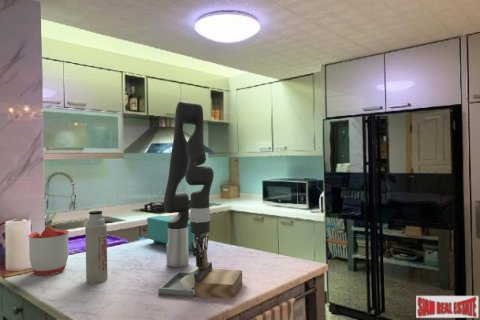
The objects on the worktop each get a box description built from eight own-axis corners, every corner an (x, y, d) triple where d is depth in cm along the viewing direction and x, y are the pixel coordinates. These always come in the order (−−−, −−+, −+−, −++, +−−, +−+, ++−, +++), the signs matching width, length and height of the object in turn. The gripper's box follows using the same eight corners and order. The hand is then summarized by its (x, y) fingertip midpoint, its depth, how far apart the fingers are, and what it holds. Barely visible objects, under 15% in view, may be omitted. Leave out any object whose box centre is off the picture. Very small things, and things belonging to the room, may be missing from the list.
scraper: (193, 281, 124) (191, 254, 124) (205, 268, 138) (203, 244, 138) (201, 280, 123) (199, 254, 123) (213, 268, 137) (210, 244, 137)
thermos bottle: (111, 278, 142) (110, 210, 142) (94, 284, 136) (93, 213, 135) (99, 275, 147) (98, 209, 146) (82, 281, 140) (80, 211, 140)
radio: (199, 249, 187) (199, 221, 187) (184, 253, 179) (184, 224, 179) (161, 239, 209) (161, 214, 209) (146, 243, 201) (146, 217, 201)
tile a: (190, 289, 125) (186, 292, 125) (194, 285, 129) (190, 287, 129) (184, 278, 125) (179, 280, 125) (188, 274, 129) (184, 276, 130)
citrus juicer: (61, 263, 165) (60, 221, 164) (74, 271, 152) (73, 225, 152) (23, 271, 154) (22, 226, 153) (34, 280, 141) (33, 231, 141)
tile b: (195, 283, 133) (190, 283, 133) (200, 279, 137) (195, 279, 138) (193, 271, 133) (189, 271, 133) (198, 268, 137) (193, 268, 138)
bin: (158, 295, 124) (158, 288, 124) (177, 277, 142) (177, 271, 142) (192, 297, 122) (192, 290, 122) (208, 279, 139) (208, 273, 139)
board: (194, 296, 123) (194, 282, 123) (208, 280, 138) (207, 268, 138) (232, 299, 120) (232, 284, 120) (242, 283, 135) (242, 270, 135)
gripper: (196, 215, 138) (197, 259, 138) (183, 222, 124) (184, 270, 125) (214, 216, 136) (215, 260, 137) (203, 223, 123) (204, 271, 123)
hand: (200, 264), depth 131 cm, fingers closed on scraper, 3 cm apart
